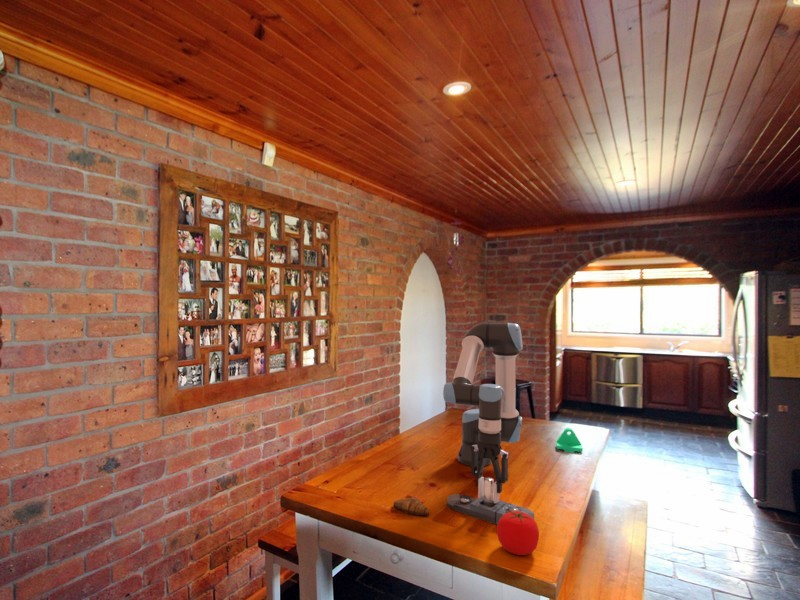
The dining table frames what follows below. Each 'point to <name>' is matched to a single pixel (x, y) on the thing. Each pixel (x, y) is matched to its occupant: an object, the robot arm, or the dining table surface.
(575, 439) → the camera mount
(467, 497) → the chain end
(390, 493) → the dining table surface
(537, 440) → the dining table surface
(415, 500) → the croissant
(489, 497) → the steel pin
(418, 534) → the dining table surface
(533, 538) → the tomato
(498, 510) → the chain end
